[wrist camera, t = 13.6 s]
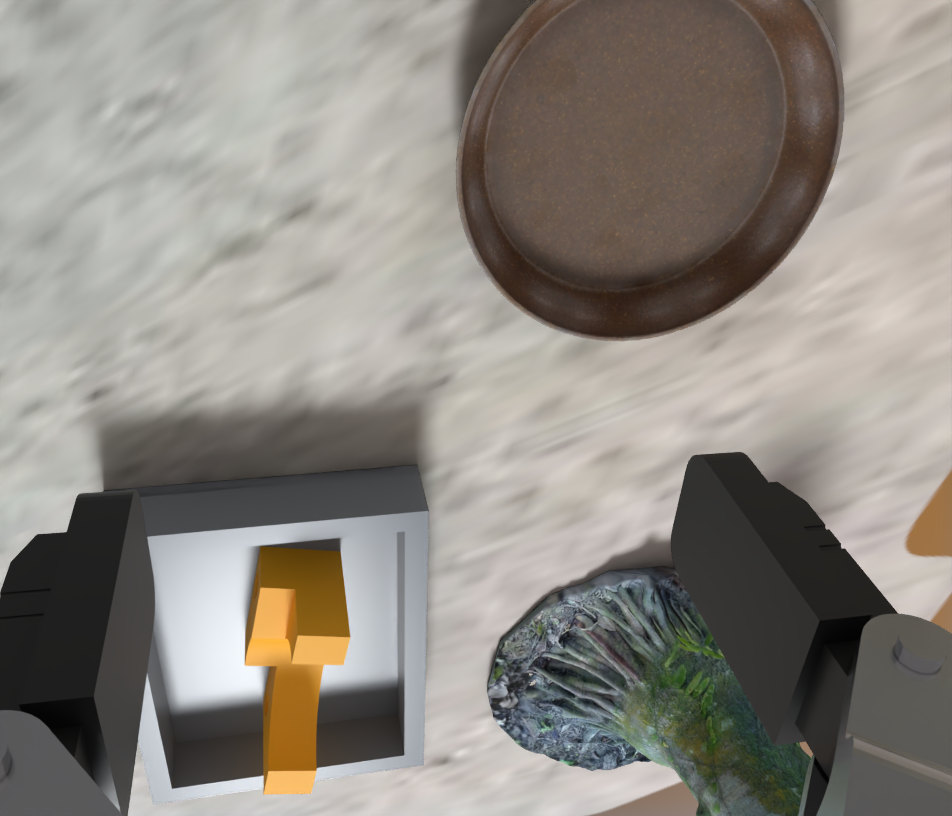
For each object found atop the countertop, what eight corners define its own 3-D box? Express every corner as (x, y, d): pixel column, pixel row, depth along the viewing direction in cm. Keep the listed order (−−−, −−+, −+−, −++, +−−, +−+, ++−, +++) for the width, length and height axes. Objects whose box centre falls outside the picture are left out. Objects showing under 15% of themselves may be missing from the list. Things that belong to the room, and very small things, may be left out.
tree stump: (508, 548, 54) (694, 787, 40) (756, 507, 63) (977, 690, 49) (461, 762, 62) (602, 1021, 49) (686, 698, 72) (859, 900, 58)
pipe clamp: (260, 546, 49) (260, 634, 43) (340, 551, 50) (350, 637, 44) (233, 700, 54) (230, 794, 49) (305, 701, 56) (310, 793, 50)
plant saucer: (693, 355, 49) (716, 383, 46) (388, 257, 42) (396, 283, 40) (883, 30, 41) (923, 43, 39) (547, -149, 35) (570, -148, 32)
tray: (159, 747, 56) (153, 804, 53) (103, 490, 46) (91, 542, 42) (414, 713, 59) (423, 765, 56) (417, 465, 49) (428, 510, 45)
